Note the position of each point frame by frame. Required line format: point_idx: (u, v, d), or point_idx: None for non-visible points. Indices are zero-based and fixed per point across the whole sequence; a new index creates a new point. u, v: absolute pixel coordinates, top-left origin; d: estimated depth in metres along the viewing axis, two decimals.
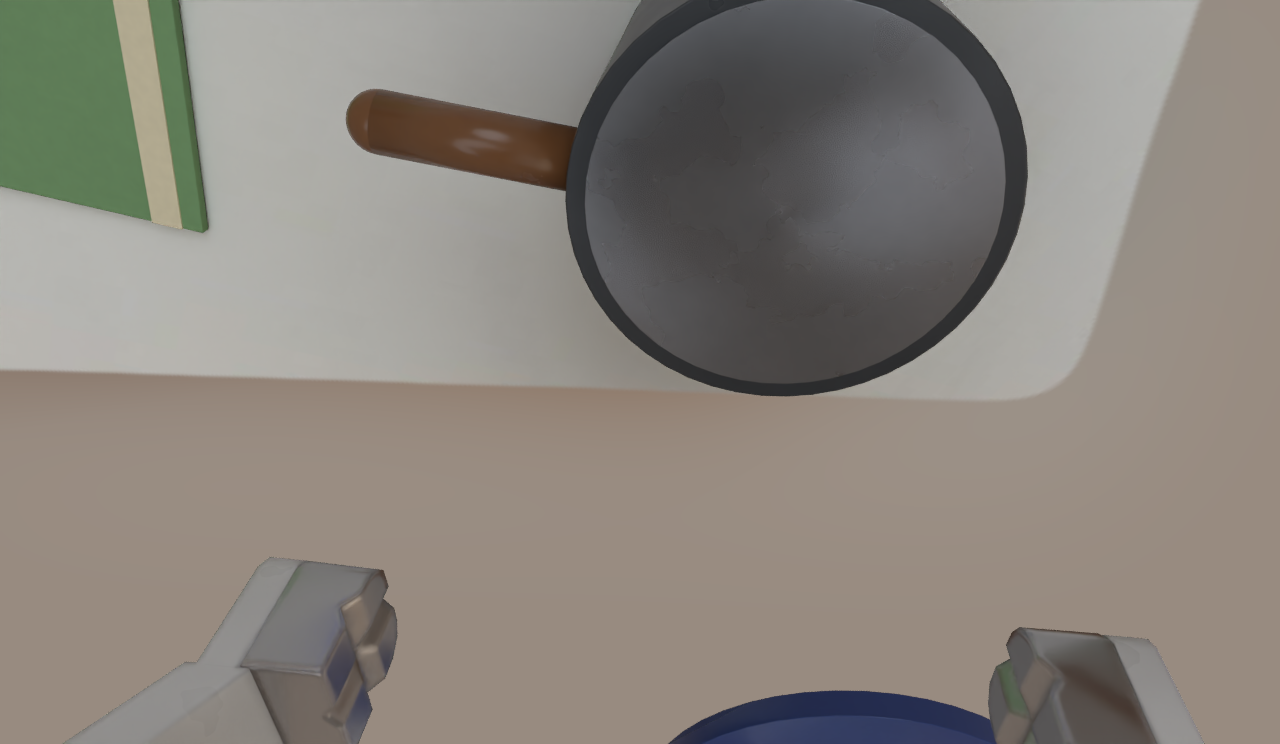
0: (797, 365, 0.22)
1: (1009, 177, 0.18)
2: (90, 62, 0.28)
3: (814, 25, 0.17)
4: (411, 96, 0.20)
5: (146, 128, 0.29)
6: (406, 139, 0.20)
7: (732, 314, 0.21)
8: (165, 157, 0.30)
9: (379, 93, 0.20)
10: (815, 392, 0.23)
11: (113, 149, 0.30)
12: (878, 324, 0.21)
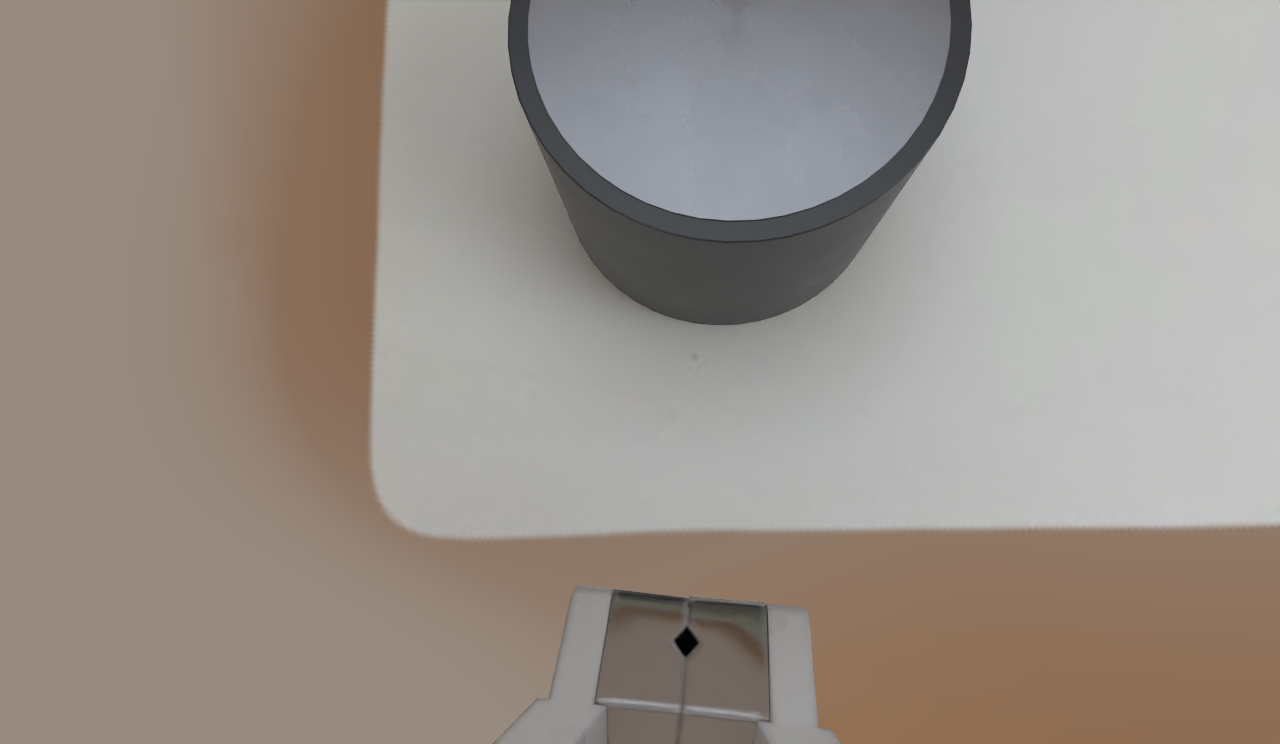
0: (552, 51, 0.19)
1: (789, 219, 0.18)
2: None
3: (925, 21, 0.19)
4: None
5: None
6: None
7: None
8: None
9: None
10: (514, 75, 0.19)
11: None
12: (610, 128, 0.19)
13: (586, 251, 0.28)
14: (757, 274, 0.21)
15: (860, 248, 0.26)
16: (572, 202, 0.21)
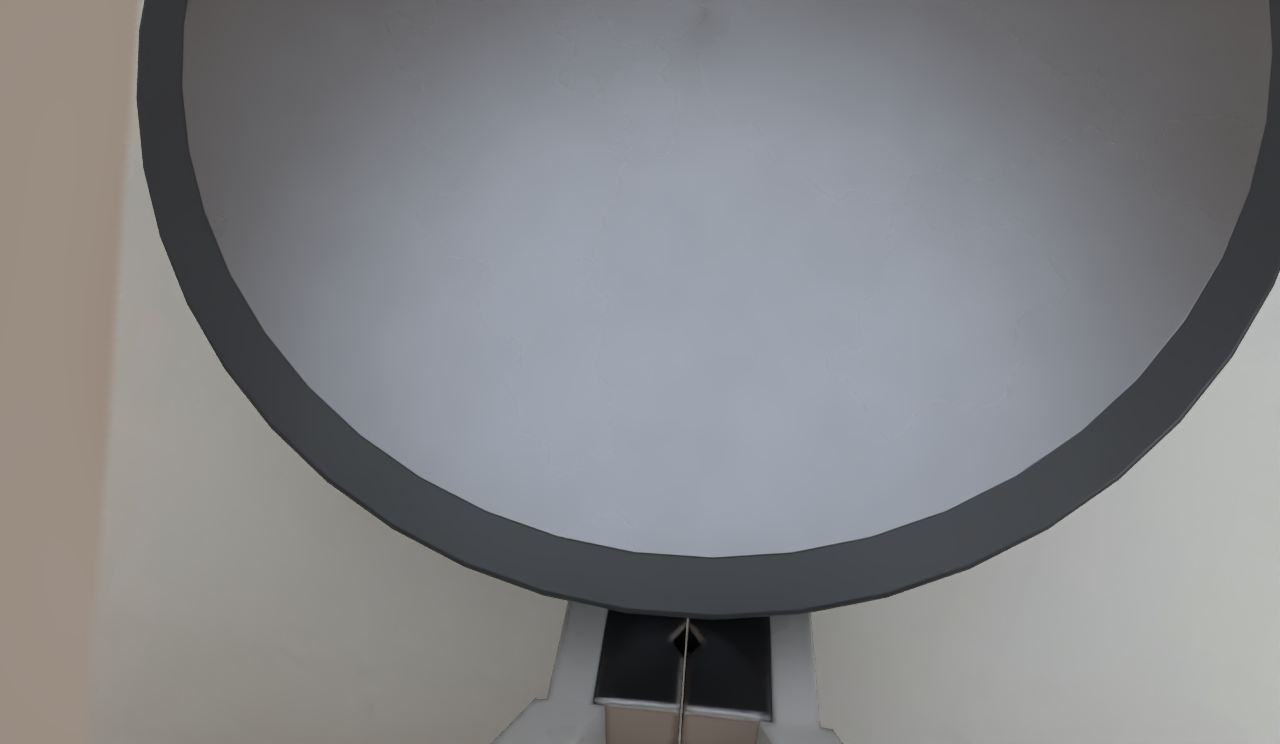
0: (245, 109, 0.08)
1: (881, 546, 0.07)
2: None
3: None
4: None
5: None
6: None
7: None
8: None
9: None
10: (151, 175, 0.08)
11: None
12: (393, 305, 0.07)
13: None
14: None
15: None
16: None
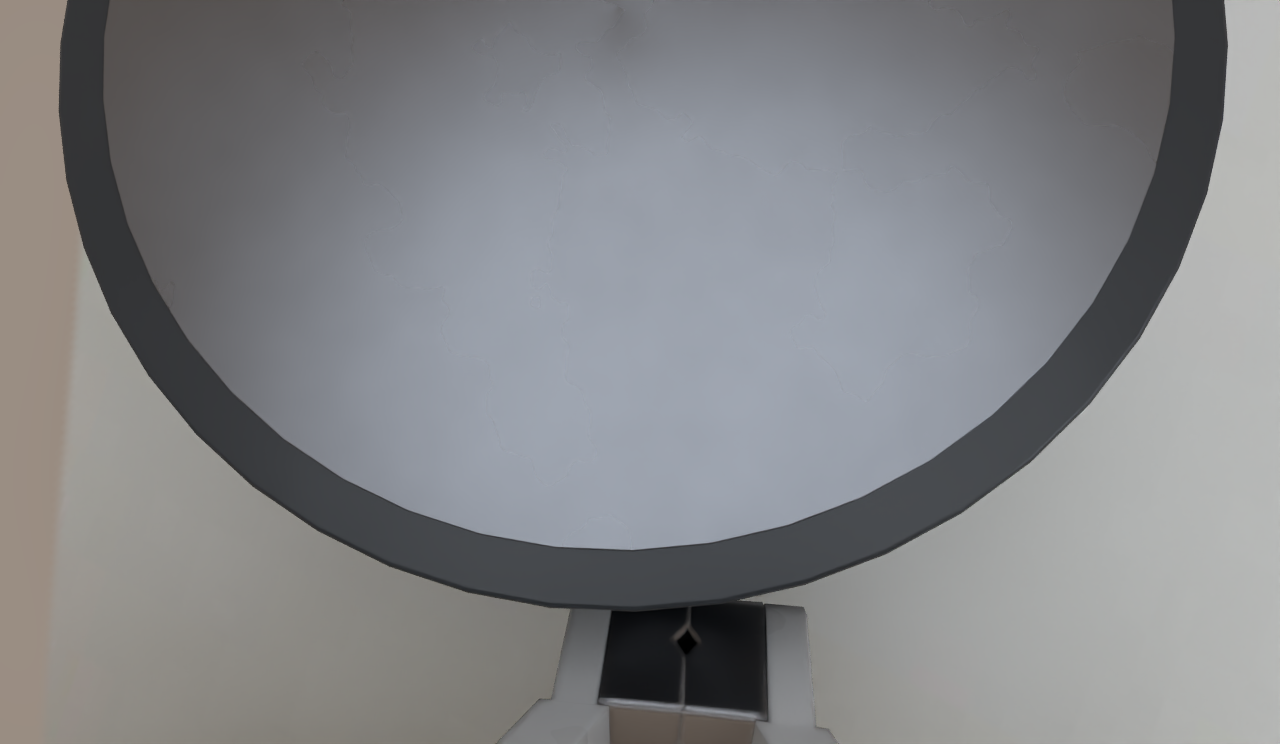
0: (177, 175, 0.07)
1: (872, 505, 0.07)
2: None
3: None
4: None
5: None
6: None
7: None
8: None
9: None
10: (92, 254, 0.07)
11: None
12: (356, 345, 0.07)
13: None
14: None
15: None
16: None
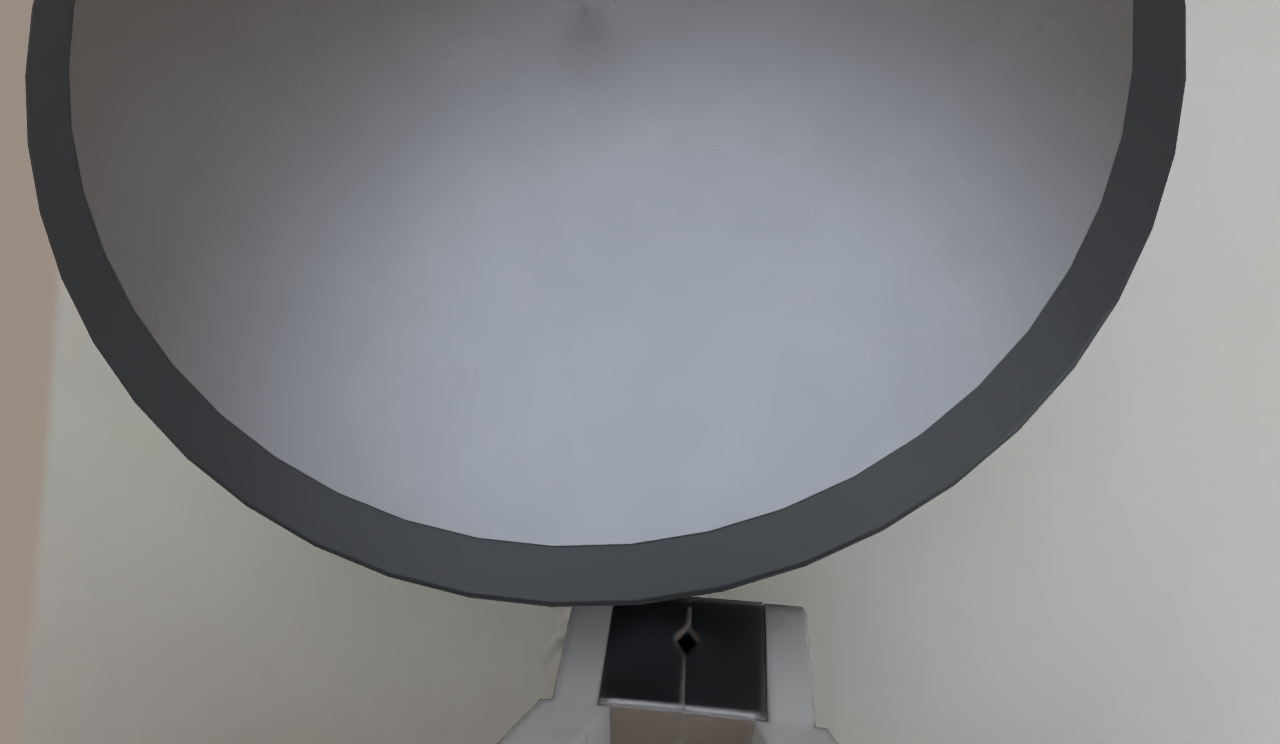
0: (152, 199, 0.07)
1: (866, 483, 0.07)
2: None
3: None
4: None
5: None
6: None
7: None
8: None
9: None
10: (71, 284, 0.07)
11: None
12: (342, 358, 0.07)
13: None
14: None
15: None
16: None
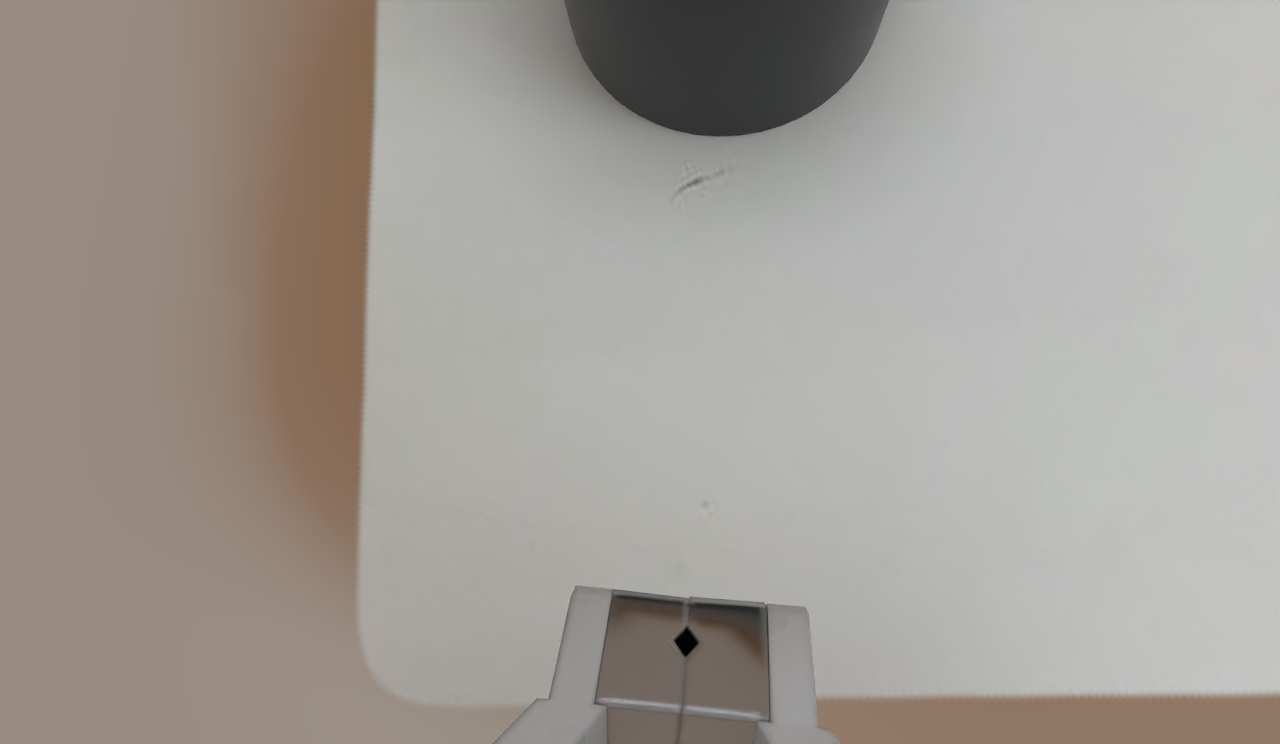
0: None
1: None
2: None
3: None
4: None
5: None
6: None
7: None
8: None
9: None
10: None
11: None
12: None
13: (616, 96, 0.27)
14: (812, 11, 0.21)
15: None
16: None
